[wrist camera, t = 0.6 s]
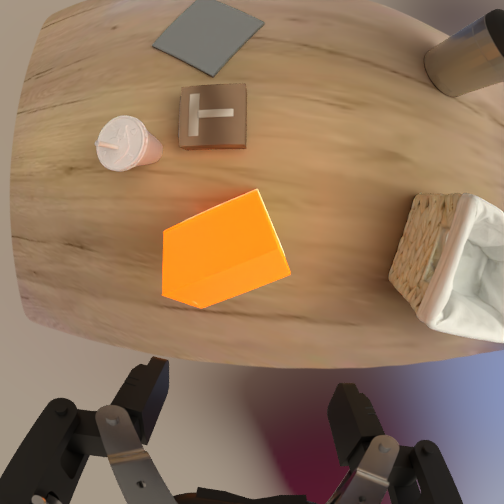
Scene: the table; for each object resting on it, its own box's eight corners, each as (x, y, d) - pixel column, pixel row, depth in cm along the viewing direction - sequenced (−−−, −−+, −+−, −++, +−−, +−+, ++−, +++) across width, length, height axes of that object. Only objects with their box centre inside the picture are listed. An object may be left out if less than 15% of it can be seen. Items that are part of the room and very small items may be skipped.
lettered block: (246, 93, 33) (245, 83, 29) (246, 148, 35) (244, 143, 31) (187, 96, 33) (179, 86, 29) (185, 150, 35) (176, 146, 31)
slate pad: (202, -3, 28) (202, -5, 28) (264, 24, 30) (264, 22, 29) (153, 46, 31) (151, 45, 30) (213, 77, 32) (212, 76, 32)
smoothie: (126, 168, 35) (67, 165, 22) (137, 126, 34) (84, 104, 20) (165, 177, 36) (116, 175, 22) (177, 133, 34) (135, 108, 21)
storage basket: (495, 234, 36) (549, 252, 22) (466, 312, 40) (512, 348, 26) (409, 183, 35) (474, 187, 21) (375, 284, 39) (422, 330, 24)
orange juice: (197, 213, 37) (135, 244, 17) (257, 187, 36) (256, 189, 16) (220, 265, 38) (186, 341, 19) (280, 241, 37) (302, 300, 18)
